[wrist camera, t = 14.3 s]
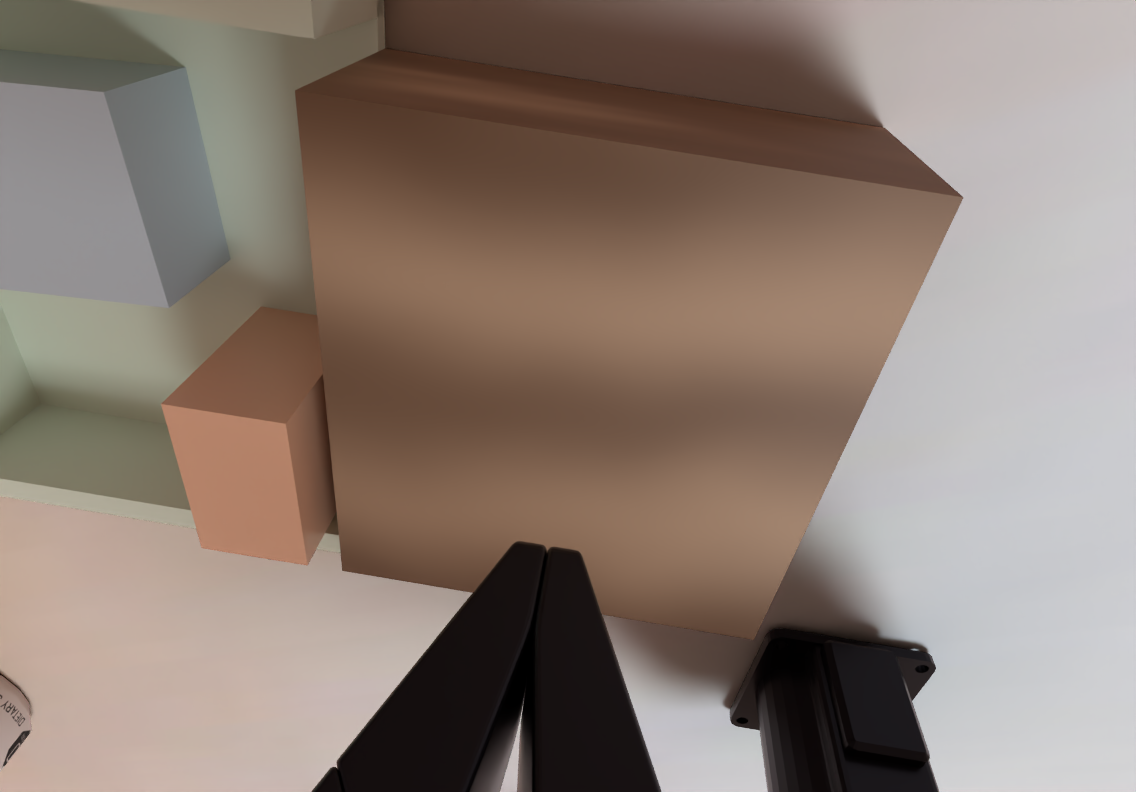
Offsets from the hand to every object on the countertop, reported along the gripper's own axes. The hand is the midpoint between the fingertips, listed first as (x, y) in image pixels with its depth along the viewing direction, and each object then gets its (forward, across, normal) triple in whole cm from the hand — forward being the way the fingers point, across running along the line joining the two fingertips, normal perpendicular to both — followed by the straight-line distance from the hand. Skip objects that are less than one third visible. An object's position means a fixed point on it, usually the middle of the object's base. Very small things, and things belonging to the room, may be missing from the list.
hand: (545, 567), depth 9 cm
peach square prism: (+9, +7, +6) cm, 13 cm away
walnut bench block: (+12, 0, +3) cm, 12 cm away
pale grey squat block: (+8, +13, 0) cm, 15 cm away
